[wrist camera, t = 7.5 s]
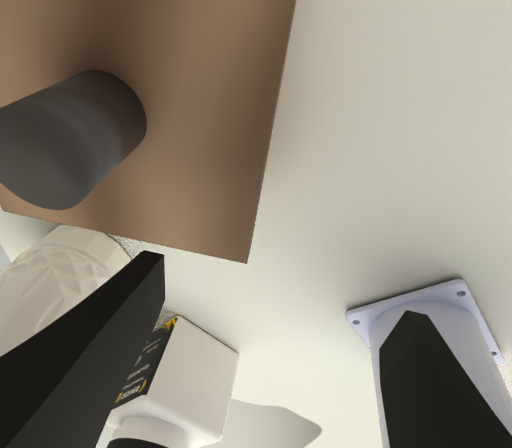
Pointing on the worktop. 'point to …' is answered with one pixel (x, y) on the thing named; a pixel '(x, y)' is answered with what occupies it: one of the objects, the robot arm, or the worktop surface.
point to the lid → (141, 115)
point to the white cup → (54, 280)
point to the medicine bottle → (175, 391)
